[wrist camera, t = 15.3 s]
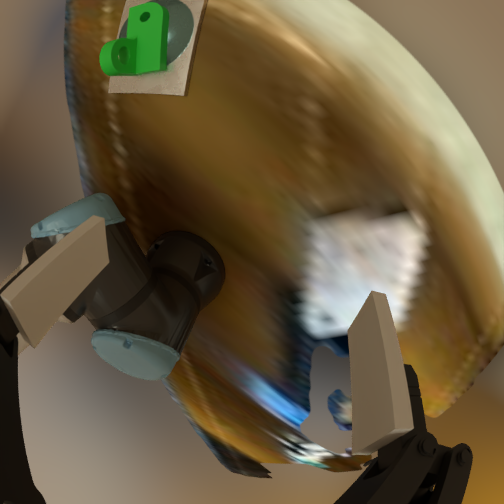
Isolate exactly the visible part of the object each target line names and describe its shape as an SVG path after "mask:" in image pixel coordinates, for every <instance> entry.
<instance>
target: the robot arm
mask: <svg viewBox="0 0 504 504" xmlns="http://www.w3.org/2000/svg"><path fill="white" fill-rule="evenodd" d="M125 220H126V219H125V217H123V216H122V215H121V213H120V212H119V210H118V208H117V207H116V205H115V203H114V202H113V200H112V199H111V197H110V196H108V195H107V194H104V193H96V194H93V195H90V196H88V197H86V198H84V199H81V200H79V201H77V202H74V203H72V204H70V205H68V206H66V207H65V208H62V209H61V210H59V211H57V212H55V213H53V214H52V215H50V216H48V217H46V218H45V219H43V220H42V221H40V222H39V223H36V224H35V225H33V226H32V227H31V233H32V234H31V236H32V238H34V240H33V241H31V242H30V243H29V244H28V245H26V246H25V247H24V249H23V256H22V263H21V265H20V266H19V267H18V268H17V269H16V270H15V271H14V272H12V274H10V275H9V276H8V277H7V278H6V279H5V280H4V281H3V282H2V283H1V284H0V504H46V502H45V500H44V498H43V496H42V494H41V493H40V492H39V491H38V490H37V488H36V487H35V485H34V483H33V480H32V476H31V472H30V468H29V464H28V460H27V455H26V450H25V444H24V439H23V433H22V425H21V417H20V407H19V393H18V355H19V354H20V353H21V352H22V351H23V350H24V349H25V348H27V347H28V346H29V345H31V346H32V347H33V348H35V347H36V346H37V345H38V344H39V342H40V341H41V340H42V339H43V337H44V336H45V335H46V333H47V332H48V331H49V330H50V328H51V327H52V326H53V325H54V324H55V322H57V321H61V322H66V323H74V322H75V321H76V320H78V319H79V318H80V317H81V316H83V315H85V316H86V317H87V318H88V320H89V321H90V322H91V323H92V325H93V326H94V327H95V329H96V331H94V332H93V334H92V338H91V344H92V345H93V348H94V350H95V352H96V353H97V354H98V355H99V356H100V357H101V358H102V359H103V360H104V361H106V362H107V363H109V364H110V365H111V366H113V367H115V368H116V369H118V370H120V371H122V372H124V373H126V374H128V375H131V376H133V377H136V378H140V379H145V380H161V379H163V378H165V377H167V376H168V375H169V374H170V372H171V371H172V369H173V367H174V365H175V363H176V362H177V361H178V360H179V357H180V355H181V352H182V350H183V348H184V345H185V343H186V341H187V339H188V336H189V334H190V332H191V329H192V327H193V325H194V323H195V320H196V318H197V316H198V314H199V312H200V311H201V310H202V309H203V308H204V307H205V306H207V305H208V304H209V303H210V302H211V301H212V300H214V299H215V298H216V296H217V295H218V294H219V292H220V290H221V288H222V285H223V283H224V280H225V269H224V265H223V262H222V260H221V258H220V256H219V254H218V253H217V252H216V250H215V249H214V248H213V247H212V246H211V245H210V244H209V243H208V242H206V241H205V240H204V239H202V238H200V237H198V236H196V235H194V234H191V233H188V232H183V231H173V232H168V233H165V234H163V235H161V236H160V237H159V238H158V239H157V240H156V241H155V242H154V243H153V244H152V245H151V246H150V248H149V250H148V252H147V254H146V257H145V255H144V254H143V252H142V250H141V249H140V247H139V245H138V244H137V242H136V240H135V239H134V237H133V235H132V233H131V232H130V230H129V228H128V226H127V224H126V223H125ZM348 341H349V354H350V369H351V390H352V455H370V454H372V453H373V452H375V451H377V450H378V457H376V458H374V459H372V460H370V461H368V462H366V463H365V464H364V465H363V466H367V465H369V464H370V465H369V466H368V467H367V468H366V470H365V471H364V472H363V473H362V474H361V475H360V477H359V478H358V479H357V480H356V481H355V482H354V483H353V484H352V485H351V487H350V488H349V489H348V490H347V491H346V492H345V493H344V494H343V495H342V496H341V497H340V498H339V499H338V500H337V501H336V502H335V503H334V504H461V503H462V500H463V497H464V493H465V490H466V486H467V483H468V479H469V474H470V470H471V465H472V459H473V455H472V451H471V449H470V447H469V446H468V445H467V444H464V443H461V444H458V445H456V446H455V447H453V448H450V447H446V446H443V445H439V444H438V443H437V440H436V438H435V437H434V436H433V435H432V434H430V433H429V432H427V429H426V423H425V417H424V410H423V404H422V398H420V396H421V393H420V389H419V383H418V378H417V375H416V373H415V371H414V369H413V368H412V366H411V365H407V364H403V360H402V355H401V351H400V346H399V342H398V338H397V334H396V330H395V326H394V322H393V318H392V315H391V311H390V307H389V304H388V300H387V297H386V294H383V293H379V292H375V291H371V293H370V294H369V296H368V298H367V300H366V301H365V303H364V305H363V306H362V308H361V310H360V311H359V313H358V315H357V316H356V318H355V320H354V321H353V323H352V324H351V326H350V328H349V329H348ZM434 485H435V488H434V490H433V487H434Z"/></svg>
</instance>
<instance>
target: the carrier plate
mask: <svg viewBox="0 0 504 504" xmlns="http://www.w3.org/2000/svg"><path fill="white" fill-rule="evenodd" d="M148 2H155V3H157V4H160V5H162V6H164V7H165V8H166V9H167V10H168V12H169V27H168V43H167V66H166V71H159V72H153V73H147V74H141V75H136V76H110V83H109V92H108V93H152V94H169V95H182V96H187V94H188V88H189V82H190V76H191V71H192V66H193V61H194V56H195V51H196V46H197V42H198V37H199V33H200V29H201V25H202V21H203V17H204V13H205V9H206V5H207V2H208V0H126V3H125V7H124V11H123V15H122V18H121V23H120V27H119V31H118V36H117V39H119V38H126V37H127V26H128V16H129V8H131V7H134V6H137V5H141V4H144V3H148ZM149 18H150V16H149V17H148V18H147V20H148V19H149ZM118 57H119V55H118Z"/></svg>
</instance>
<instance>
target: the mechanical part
mask: <svg viewBox="0 0 504 504" xmlns="http://www.w3.org/2000/svg"><path fill="white" fill-rule="evenodd" d="M149 16H150V18H149V19H148V20H147V18H148V17H149ZM168 27H169V12H168V10H167V9H166V8H165V7H164V6H162V5H160V4H157V3H155V2H148V3H144V4H141V5H137V6H134V7H131V8H129V16H128V26H127V37H126V38H119V39H116V40H113V41H110V42H107V43H106V44H105V45H104V46H103V48H102V50H101V52H100V65H101V68H102V70H103V71H104V73H105V74H107V75H109V76H136V75H141V74H147V73H153V72H159V71H166V66H167V43H168ZM118 55H119V57H118Z"/></svg>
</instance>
